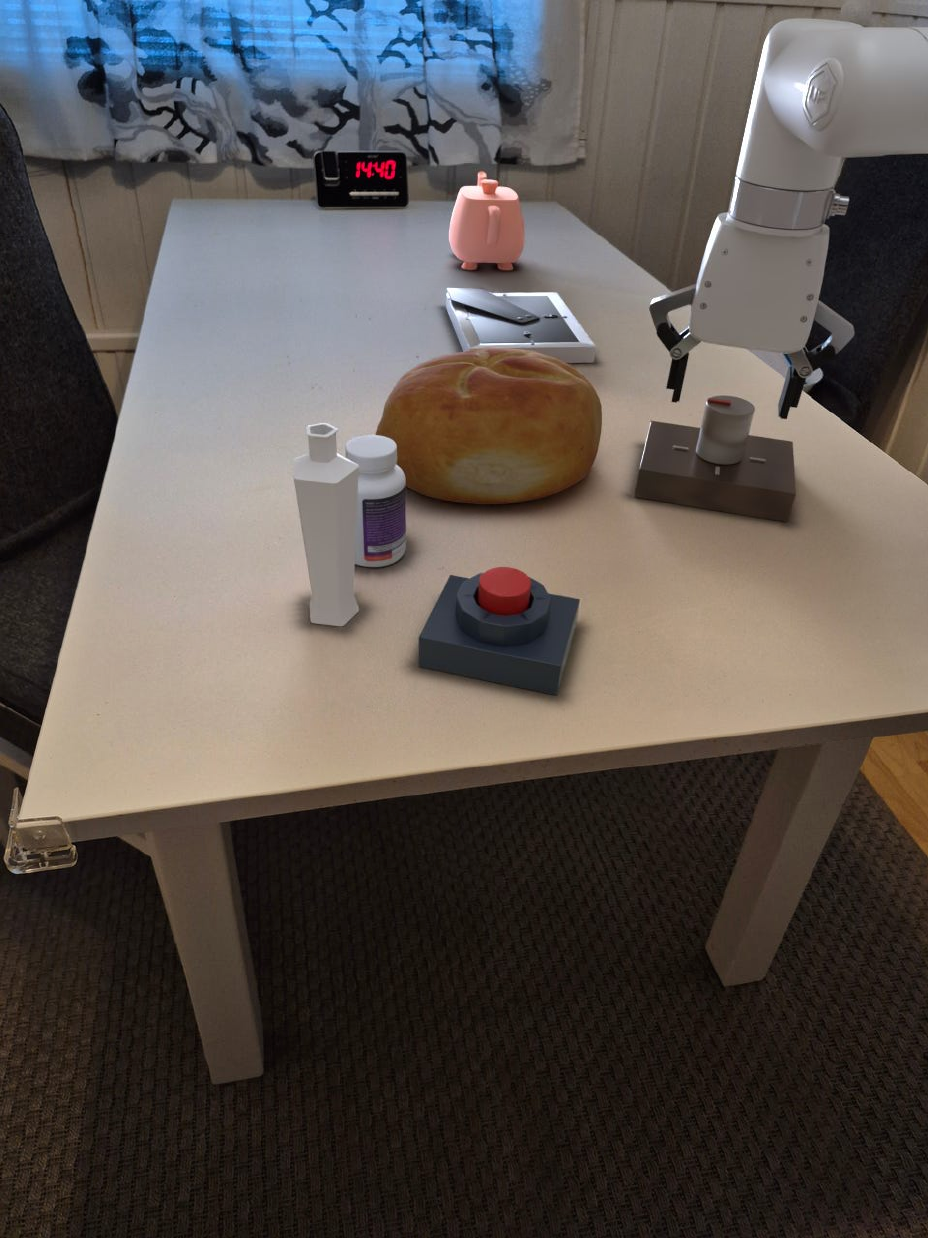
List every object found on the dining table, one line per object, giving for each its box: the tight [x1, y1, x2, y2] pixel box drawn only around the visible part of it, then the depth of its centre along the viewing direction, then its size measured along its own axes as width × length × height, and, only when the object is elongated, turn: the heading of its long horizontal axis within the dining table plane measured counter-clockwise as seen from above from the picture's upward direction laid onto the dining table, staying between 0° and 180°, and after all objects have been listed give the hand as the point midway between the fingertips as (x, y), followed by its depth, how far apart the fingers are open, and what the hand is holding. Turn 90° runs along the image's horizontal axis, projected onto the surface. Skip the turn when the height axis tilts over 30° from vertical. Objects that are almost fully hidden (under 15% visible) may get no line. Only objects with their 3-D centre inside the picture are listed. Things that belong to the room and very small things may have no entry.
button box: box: [418, 572, 581, 696], centre depth 63 cm, size 10×8×4 cm
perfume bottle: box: [292, 422, 360, 627], centre depth 62 cm, size 5×4×15 cm
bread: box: [374, 347, 603, 505], centre depth 84 cm, size 23×23×10 cm
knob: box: [696, 395, 756, 465], centre depth 82 cm, size 4×4×5 cm
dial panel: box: [633, 420, 797, 523], centre depth 85 cm, size 14×11×3 cm
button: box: [478, 566, 531, 616], centre depth 61 cm, size 4×4×2 cm
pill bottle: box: [344, 434, 407, 568], centre depth 71 cm, size 5×5×10 cm
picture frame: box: [445, 287, 597, 364], centre depth 115 cm, size 16×3×21 cm
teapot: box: [448, 170, 526, 271], centre depth 139 cm, size 20×12×12 cm, turn 6°
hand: (728, 404), depth 81 cm, fingers open, 9 cm apart
